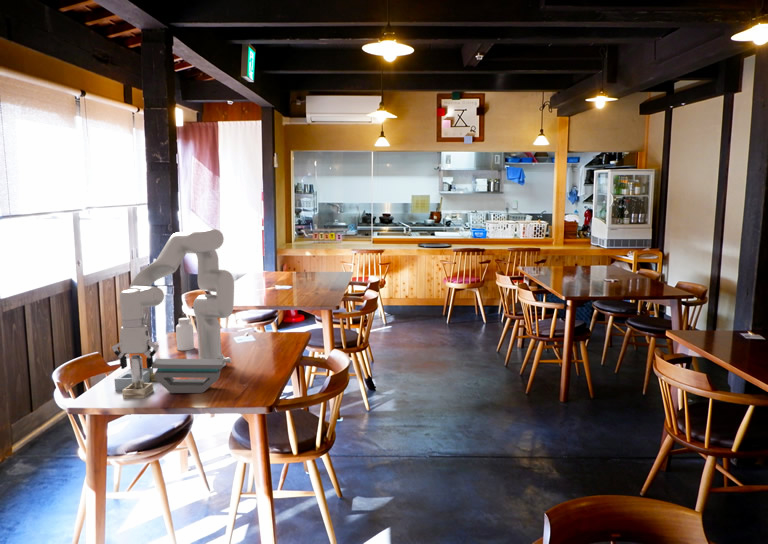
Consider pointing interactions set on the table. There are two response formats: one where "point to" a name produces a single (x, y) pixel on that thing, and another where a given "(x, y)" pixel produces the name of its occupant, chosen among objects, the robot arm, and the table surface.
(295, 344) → the table surface
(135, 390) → the wooden tray
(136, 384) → the drill peg
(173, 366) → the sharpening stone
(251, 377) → the table surface
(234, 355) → the table surface
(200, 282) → the robot arm
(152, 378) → the drift key
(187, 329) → the pill bottle
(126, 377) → the socket block
